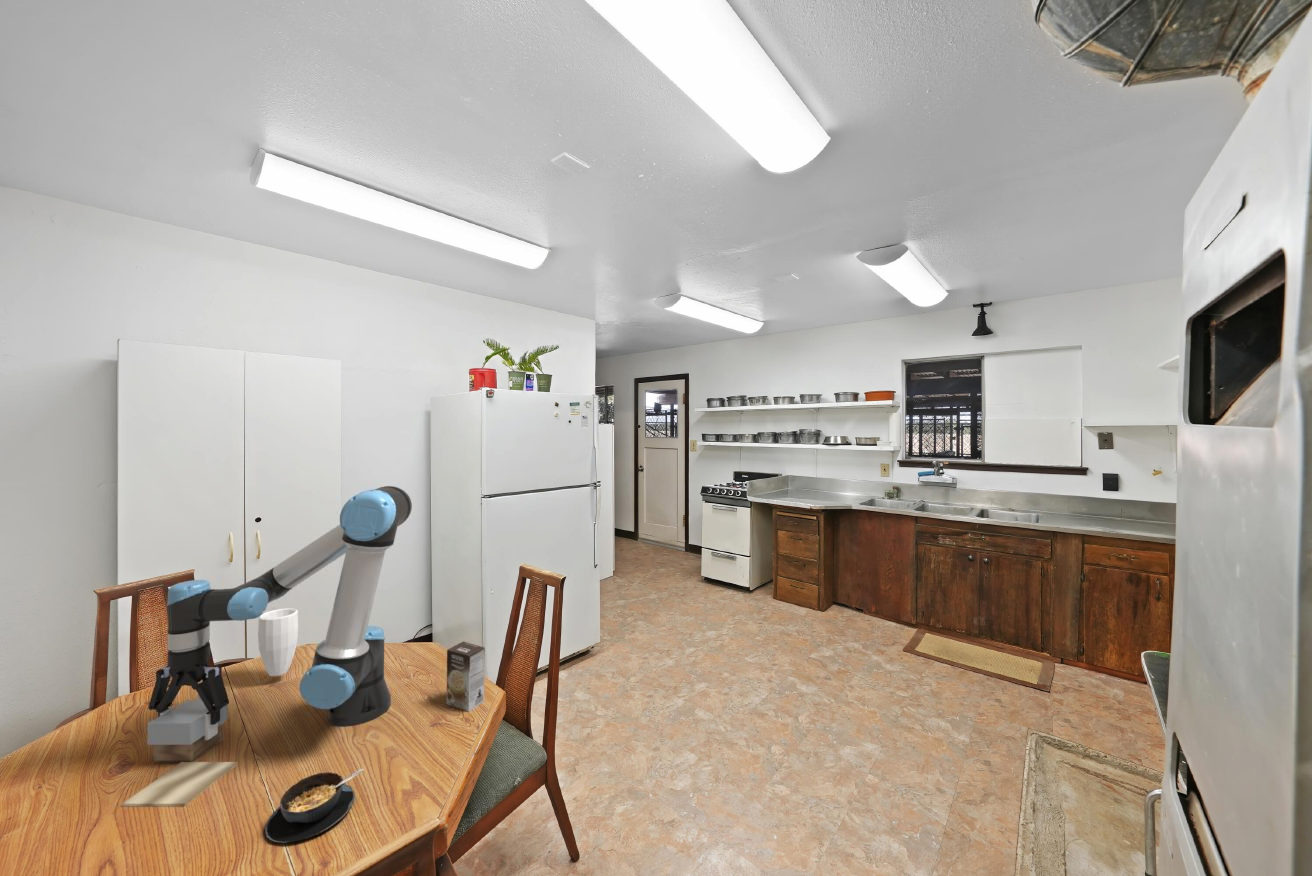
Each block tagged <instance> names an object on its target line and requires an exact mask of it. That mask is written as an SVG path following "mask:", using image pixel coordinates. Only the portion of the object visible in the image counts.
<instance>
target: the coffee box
mask: <svg viewBox="0 0 1312 876" xmlns="http://www.w3.org/2000/svg"><path fill="white" fill-rule="evenodd" d="M485 652H486V648H485V647H484V646H481V645H477V644H474V643H470V642H468V641H462V642H459V643H457V644H456V645H453V646H452V647H450V648H448V649H447V650H446V705H448V706H451V707H454V708H457V709H460V710H461V711H462V710H463V711H466V712H471V711H473V710H474V709H476V708H477V707H478V706H480V705H481V704H483V703H485V673H486V672H485V670H486V669H485V663H486V662H485V661H486V660H485V656H486V653H485Z"/></svg>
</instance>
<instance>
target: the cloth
mask: <svg viewBox="0 0 1312 876" xmlns="http://www.w3.org/2000/svg"><path fill="white" fill-rule="evenodd" d="M237 765H238V761H193V762H181V763H180V764H176V765H175V766H174V767H173V768H171V769H170V770H168V771H167V772H165V773H164V774H162V775H161V776H159V777H158V778H157V779H155V780H154V781H152V782H151V783H149V784H147V786H145V787H144V788H142V789H141V790H140V791H138V792H137V793H135V794H134V795H132V796H130V797H129V798H127V800H125V801H124V802H122V803H121V807H186V806H187V805H188V804H189V803H191V802H192V801H193V800H195V799H196V798H197V797H199V796H200V795H201V794H202V793H204V792H205V791H206V790H207V789H209V788H210V787H211V786H212V785H213V784H214V783H213V782H215V781H216V780H217V779H218V780H219V778H220V777H221V776H222V777H223V776H225V775H226V774H227V773H229V770H230V769H231V770H232V769H233V768H235V767H236V766H237ZM231 770H230V771H231ZM224 774H225V775H224ZM222 777H221V778H222ZM221 778H220V779H221ZM218 780H217V781H218ZM217 781H216V782H217ZM216 782H215V783H216ZM212 783H213V784H212ZM211 784H212V785H211ZM210 785H211V786H210ZM209 786H210V787H209ZM205 789H206V790H205Z"/></svg>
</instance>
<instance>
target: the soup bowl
mask: <svg viewBox="0 0 1312 876" xmlns="http://www.w3.org/2000/svg"><path fill="white" fill-rule="evenodd" d="M364 770H365V769H364V768H361V769H358V770H357V771H356V772H354V773H352V774H351V775H349V776H347V777H346V778H344V779H343V777H342V775H341V774H338V773H334V772H329V771H326V772H319V773H315V774H313V775H309V776H306V777H305V778H303V779H300V780H299V781H298V782H297V783H294V784H293V785H292V786H291V787H290V788H288V789H287V790H285V793H284V794H283V795H282V796H281V798H280V801H279V806H278V807H277V808H276V809H275V810H274V811H273V813H272V814H271V815H270V816H269V817H268V819H267V821H266V823H265V826H264V828H265V829H264V834H265V835H264V836H265V837H266V839H267V840H268V841H270V842H272V843H292V842H297V841H302V840H306V839H309V838H311V837H314V836H315V835H319V834H320V833H322V832H325V831H326V830H328V829H330V828H331V827H333V826H334V825H335V824H337V823H338V822H339V821H341V820H342V819H343V818H344V817H345V816H346V815H347V814H348V813H349V811H350V810H351V809H352V806H353V804H354V803H355V797H356V795H355V794H356V793H355V791H354V789H353V788H352V786H351V785H349V784H348V783H347V782H349V780H351V779H353V778H354V777H357V776H358V775H359V774H360V773H362V772H363V771H364Z"/></svg>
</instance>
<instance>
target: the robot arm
mask: <svg viewBox="0 0 1312 876" xmlns="http://www.w3.org/2000/svg"><path fill="white" fill-rule="evenodd" d="M412 507H413V504H412V500H411V497H410V496H409V494H408V493H407V492H406V491H405V490H404V489H402V488H401V487H397V486H394V485H393V486H392V485H385V486H381V487H377V488H374V489H367V490H365V491H361V492H359V493H357V494H355V495H354V496H352V497H351V498H349V499H348V500H347V501H346V502H345V503H344V505H343V506H342V508H341V510H340V514H339V524H338V525H337V526H335V527H334V528H332V529H331V530H329V531H328V532H326V533H324V534H323V535H321V536H320V537H318V538H317V539H315V540H313V541H311V543H309V544H307V545H306V546H304V547H303V548H301V549H300V550H298V551H297V552H295V553H294V554H292V555H291V556H288V558H286V559H285V560H283V561H281V562H279V563H278V564H277V565H275V566H274V567H272V568H270V569H269V570H267V571H266V572H265V573H262V574H261V575H259V576H258V577H256V578H253V579H251V580H248V581H247V582H245V583H243V584H240V585H238V586H235V587H232V588H220V589H218V588H217V589H215V588H213V589H211V587H212V586H211V583H210V581H209V580H207V579H205V580H204V579H194V580H188V581H183V582H179V583H176V584H173V585H171V586H170V587H169V588H168V591H167V602H166V611H167V643H166V644H167V647H166V648H167V649H166V650H168V651H167V655H166V656H167V661H166V663H167V665H166V666H164V667H161V668H160V669H157V670H155V671H156V672H155V677H156V678H155V684H154V686H153V690H152V694H151V697H150V700H149V703H148V707H147V709H148V710H149V711H153V710H154V711H155V712H156V714H157V718H158V717H160V716H161V715H163V714H165V713H167V712H168V711H170V710H172V709H174V708H175V707H174V706H173V705H174V704H173V702H174V700H175V699H176V697H177V695H178V693H179V692H180V691H181V688H182V687H184V686H188V687H191V688H192V689H193V690H195V691H196V692H197V695H198V694H199V696H200V698H201V699H202V701H203V703H204V705H205V706H206V708H207V710H208V712H206V713H205V740H209V739H210V738H212V737H213V736H215V735H216V734H218V722H219V721H220V709H221V708H223V707H224V706H226V705H229V704H230V700H229V696H228V693H227V690H226V686H225V683H224V680H223V677H222V669H223V667H222V666H221V665H217V666H216V667H213V666H210V665H209V664H208V660H209V658H210V657H211V644H210V640H211V639H210V637H211V636H210V634H211V633H210V631H211V629H210V627H211V622H224V621H225V622H228V621H230V622H231V621H239V622H241V621H248V620H254V619H257V618H258V619H259V617H260V616H261V615H262V614H264V613H263V612H264V611H266V610H267V607H268V604H270V603H272V602H273V601H275V600H276V601H277V600H278V599H280V598H281V597H284V596H285V595H286V594H287V593H288V592H289V591H291V590H293V588H295V587H297V586H298V585H299V584H301V583H302V582H304V581H305V580H307V579H309V578H311V576H313V575H314V574H316V573H318V572H320V571H321V570H322V569H324V568H325V567H327V566H328V565H330V564H332V563H333V562H335V561H336V560H337V559H339V558H341V557H342V556H344V555H345V556H344V559H343V564H342V568H341V573H340V576H339V581H338V585H337V589H336V593H335V597H334V600H333V601H334V602H333V607H332V610H331V613H330V619H329V622H328V626H327V627H328V628H327V631H326V636H325V639H323V640H322V641H321V642H319V643H318V644H317V645H316V648H315V651H314V656H313V659H312V664H311V666H310V668H309V669H308V670H306V672H305V673H304V674H303V676H302V678H301V679H300V683H299V692H300V696H301V697H302V699H303V700H305V701H306V703H307V704H308V705H309V706H311V707H313V708H315V709H320V710H328V712H327V713H328V714H327V720H328V722H329V723H330V724H331V725H333V726H335V727H336V726H338V727H351V726H356V725H361V724H364V723H368V722H370V721H373V720H374V719H377V718H379V717H381V716H382V715H383V714H385V713H386V712H387V711H388V710H389V709H390V707H391V706H392V697H391V696H392V695H391V693H390V690H389V687H388V684H387V682H386V680H385V640H386V638H385V631H384V629H383V628H382V627H381V626H377V625H369V621H370V618H371V613H372V607H373V604H374V600H375V596H376V592H377V587H378V583H379V580H380V575H381V570H382V567H383V561H384V557H385V552H386V550H388V549H390V548H391V547H392V546H393V545H394V543H395V540H396V539H395V538H396V534H397V530H398V527H400V525H402V524H403V523H405V522H406V521H407V520H408V518H409V517H410V515H411V513H412ZM171 678H172V679H171ZM199 682H200V683H199ZM213 704H214V706H213ZM172 706H173V707H172Z"/></svg>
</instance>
